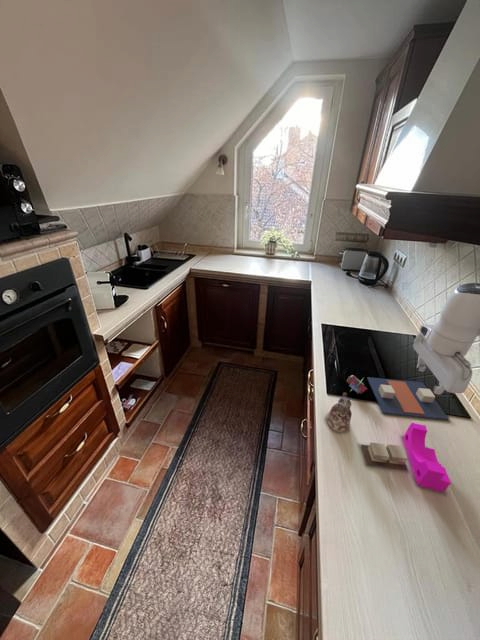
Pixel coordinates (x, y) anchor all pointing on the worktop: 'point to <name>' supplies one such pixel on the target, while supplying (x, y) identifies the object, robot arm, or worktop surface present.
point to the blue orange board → (406, 398)
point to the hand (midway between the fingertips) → (427, 380)
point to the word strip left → (385, 456)
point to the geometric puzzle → (356, 384)
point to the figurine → (340, 414)
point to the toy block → (424, 460)
